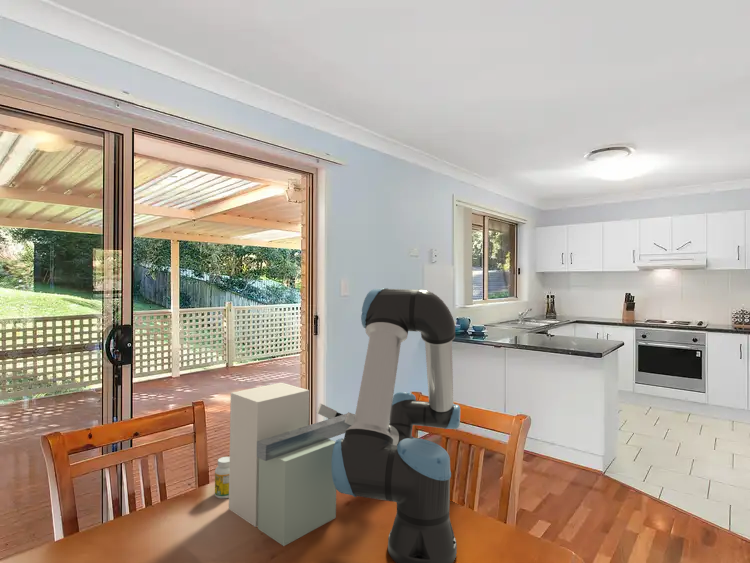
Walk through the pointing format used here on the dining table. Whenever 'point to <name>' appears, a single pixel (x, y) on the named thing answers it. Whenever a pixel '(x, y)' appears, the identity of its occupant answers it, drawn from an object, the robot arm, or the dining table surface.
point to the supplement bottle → (222, 478)
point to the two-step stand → (278, 465)
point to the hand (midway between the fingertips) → (332, 412)
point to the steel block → (301, 437)
